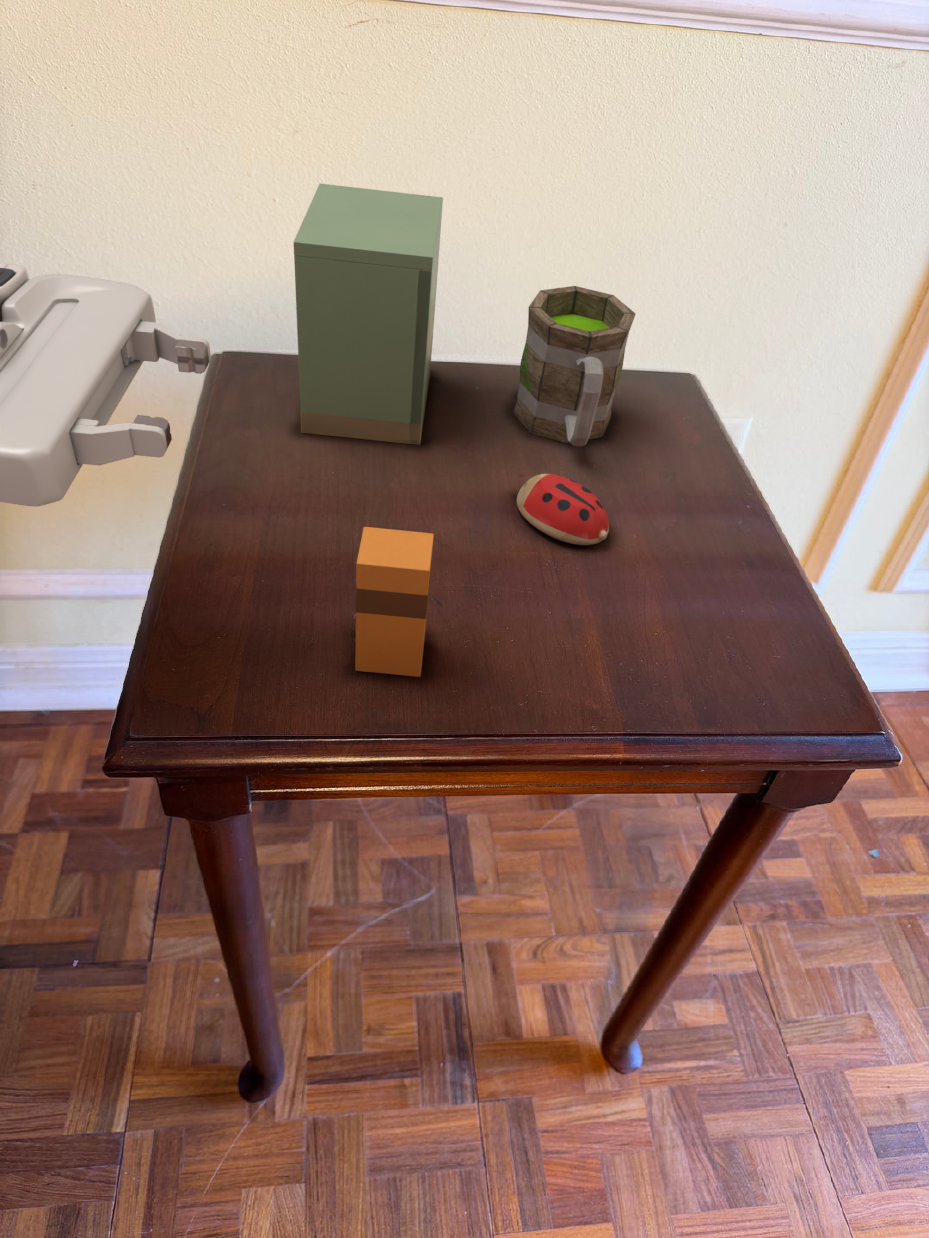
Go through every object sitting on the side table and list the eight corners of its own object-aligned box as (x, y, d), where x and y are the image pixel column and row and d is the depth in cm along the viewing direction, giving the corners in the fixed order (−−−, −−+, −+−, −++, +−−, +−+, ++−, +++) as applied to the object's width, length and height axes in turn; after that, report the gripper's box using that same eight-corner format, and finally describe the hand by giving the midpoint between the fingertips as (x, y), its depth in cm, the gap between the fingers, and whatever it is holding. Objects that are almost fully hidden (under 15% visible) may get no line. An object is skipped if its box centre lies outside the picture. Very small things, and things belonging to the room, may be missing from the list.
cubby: (301, 432, 90) (293, 241, 76) (323, 363, 100) (319, 183, 86) (420, 445, 90) (433, 257, 77) (430, 374, 100) (443, 197, 87)
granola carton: (354, 671, 68) (356, 563, 61) (361, 633, 71) (363, 525, 63) (420, 677, 68) (430, 570, 61) (424, 639, 71) (434, 533, 64)
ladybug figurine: (541, 483, 88) (547, 453, 85) (625, 530, 84) (633, 500, 81) (498, 512, 84) (503, 481, 81) (583, 563, 80) (591, 532, 77)
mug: (508, 386, 100) (523, 282, 92) (602, 391, 101) (625, 289, 93) (522, 469, 89) (540, 360, 81) (628, 474, 90) (657, 366, 82)
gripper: (-154, 420, 44) (127, 448, 45) (10, 251, 59) (221, 273, 59) (-109, 520, 49) (147, 544, 49) (34, 339, 63) (230, 360, 64)
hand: (188, 394), depth 54 cm, fingers open, 8 cm apart
